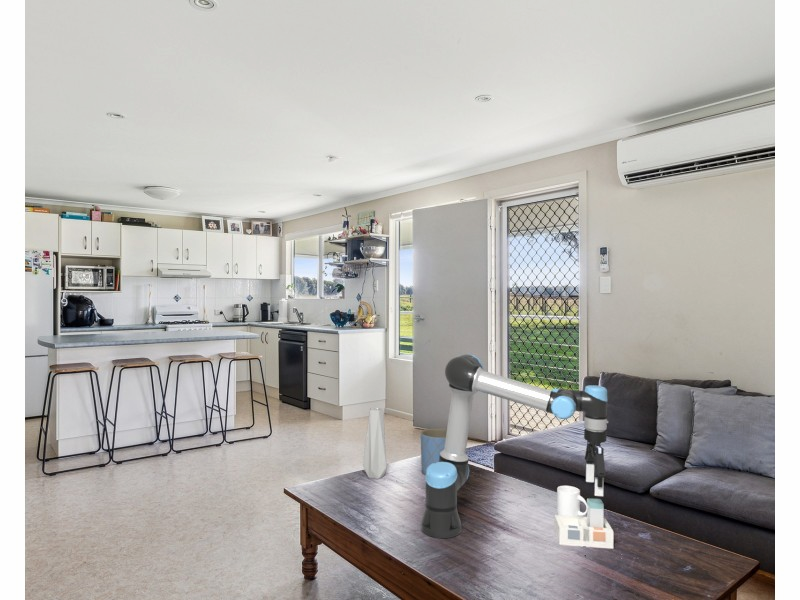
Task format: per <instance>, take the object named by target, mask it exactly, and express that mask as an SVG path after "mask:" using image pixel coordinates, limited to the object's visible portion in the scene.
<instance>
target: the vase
mask: <svg viewBox="0 0 800 600" xmlns="http://www.w3.org/2000/svg"><path fill="white" fill-rule="evenodd" d="M384 413H385V412H384V408H380V407H371V408H370V409H369V413H368V421H367V428H366V436H365V443H364V451H363V458H362V468H363V470H364V471H365V474H366V475H367V477H368V479H373V480H375V479H376V480H378V479H381V478H383V477H385V474H386V471H387V448H386V447H387V446H386V435H385V434H386V432H385V414H384Z"/></svg>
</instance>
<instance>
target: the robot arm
mask: <svg viewBox="0 0 800 600" xmlns="http://www.w3.org/2000/svg"><path fill="white" fill-rule="evenodd" d="M444 374H445V375H444V376H445V378H446V380H447V381H448V387H449V389H450V390H451V398H450V402H449V403H450V404H449V405H450V406H449V410H448V419H447V426H446V427H447V428H446V429H447V433H446V440H445V448H444V450H442V451H441V452H440V456H439V462H436V463H433V464H431V465H429V466H428V468H427V470H426V475H425V477H424V478H425V508H424V512H423V515H422V519H421V521H420V530H421V532H422V533H423V534H425V535H426V536H429V537H432V538H434V539H435V538H436V539H450V538H454V537H456V536H459V535H460V534H461V532H462V522H461V518H460V515H459V513H458V512H459V511H458V508H457V507H458V501H457V500H458V492H459V490H460V489H461V487H462V486H463V485H465V483H466V482H467V480H468V478H469V475H470V467H469V455H467V453H466V452H467V446H468V437H469V430H470V429H469V428H470V423H471V415H472V408H473V401H474V396H475V394H476V393H477V392H481V393H485V394H488V395H491V396H494V397H496V398H500V399H503V400H507V401H510V402H512V403H513V402H514V403H516V404H520V405H523V406H527V407H530V408H533V409H536V410H539V411H543V412H547V413H549V414H551V415H552V414H553V415H554V416H555V417H556V418H558V419H559V420H568V419H570V418H571V417H573V416H574V414H575V412H581V413H582V412H584V416H583V418H584V419H583V421H584V422H583V425H584V431H583V434H584V435H583V438H584V439H583V440H585V441H586V448H585V455H584V459H585V463H586V465H585V482H586V483H594V496H595V497H604V479H605V478H606V477H607V475H606V466H605V457H604V454H605V452H604V450H605V449H604V447H602V446H601V444H602V443H605V442H607V433H608V431H607V427H608V426H607V424H609V420H608V390H607V388H606V387H605V386H601V385H596V384H595V385H586V386H585V388H584V390H576V389H568V388H567V389H566V388H562V387H561V388H552V389H551V390H549V389H546V388H543V387H540V386H537V385H533V384H530V383H526V382H522V381H519V380H516V379H513V378H509V377H506V376H503V375H499V374H496V373H493V372H489V371H485V370H484V366H483V363H482V361H481V359H480V358H478V357H477V356H475V355H473V354H468V353H467V354H466V353H464V354H461V355H459V356H456V357H453V358H452V359H449V361H448V362H447V364H446V366H445V369H444Z"/></svg>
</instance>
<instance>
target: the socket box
mask: <svg viewBox="0 0 800 600" xmlns="http://www.w3.org/2000/svg"><path fill="white" fill-rule="evenodd" d="M554 533H555V535H556V536H555V537H556V539H557V543H558V544H559V545H561V546H572V547H573V546H574V547H583V546H586V547H585V548H587V547H588V548H597V549H599V548H600V549H612V550H613V549H614V529H613V528H612V527H611V525H610V523H609V522H608V520H607V519H606V517H603V528H602V527H588V526H587V516H566V515H558V514H554Z"/></svg>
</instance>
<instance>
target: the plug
mask: <svg viewBox="0 0 800 600" xmlns="http://www.w3.org/2000/svg"><path fill="white" fill-rule="evenodd" d="M586 503H587V513H586V514H587V516H586V517H587V526H588V527H602V528H603V518H604V506H605V505H604V503H603V501H602V499H601V498H590V497H589V498H588V497H587V499H586Z"/></svg>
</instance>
